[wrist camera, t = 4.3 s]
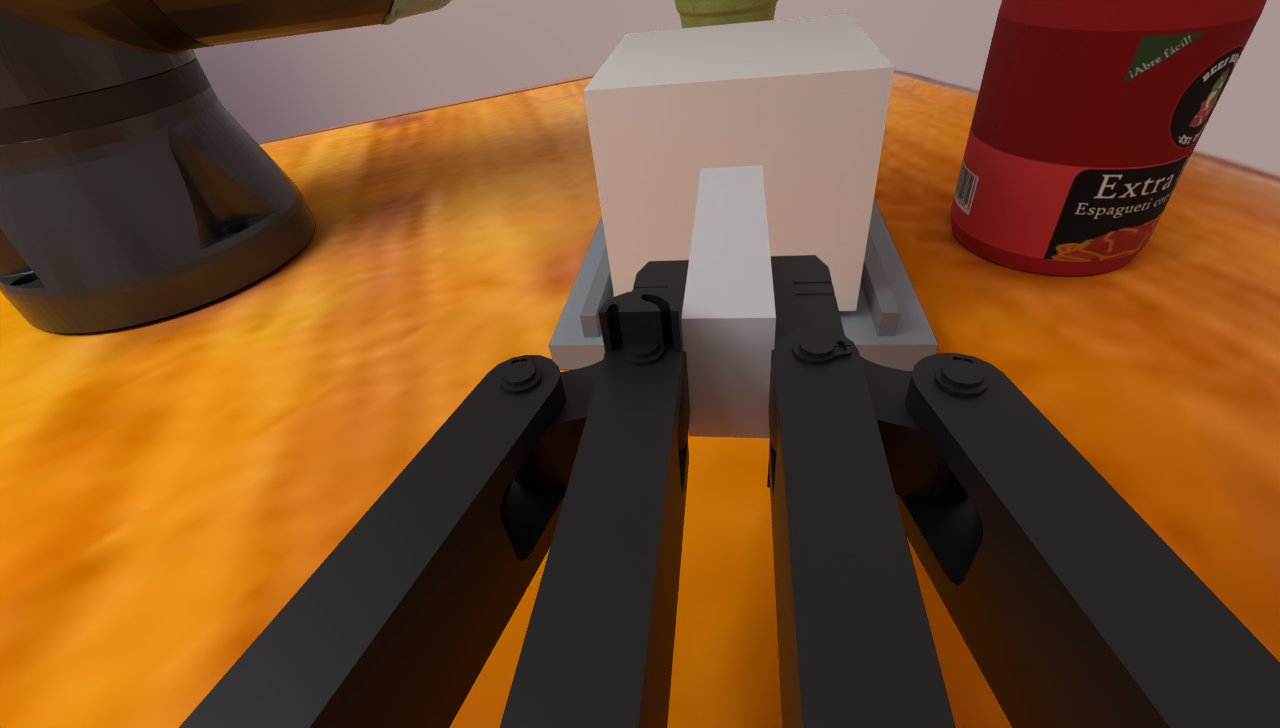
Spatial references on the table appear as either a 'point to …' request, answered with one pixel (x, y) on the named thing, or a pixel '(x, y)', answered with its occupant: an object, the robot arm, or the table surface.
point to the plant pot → (724, 11)
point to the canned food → (1089, 125)
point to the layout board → (878, 327)
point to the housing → (741, 137)
